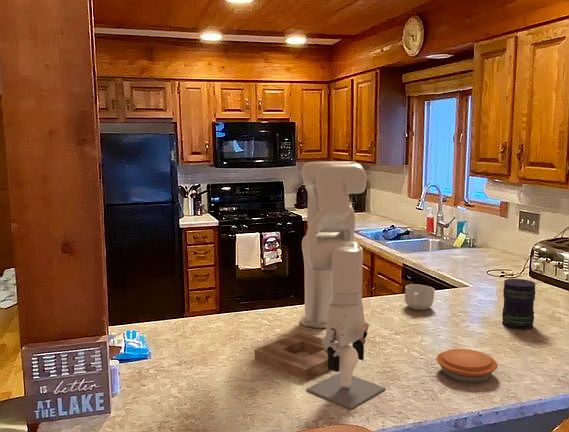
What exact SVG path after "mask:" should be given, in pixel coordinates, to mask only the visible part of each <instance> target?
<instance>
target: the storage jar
mask: <svg viewBox="0 0 569 432" xmlns="http://www.w3.org/2000/svg"><path fill="white" fill-rule="evenodd" d="M503 284H504V285H503V290H502V291H503V294H502V295H503V307H502V316H501V317H502V318H501V319H502V322H501V323H502V325H503V327H505V328H507V329H511V330H517V331H529V330H530V331H531V330H532V329H534V320H535V316H534V315H535V311H534V306H535V305H534V303H535V299H536V283H535V282H534V281H532V280H530V279H529V280H528V279H525V278H524V279H521V278H507V279H504V281H503Z"/></svg>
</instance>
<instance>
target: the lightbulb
mask: <svg viewBox="0 0 569 432" xmlns="http://www.w3.org/2000/svg"><path fill="white" fill-rule="evenodd" d="M338 356H339V357H340V361H339V372H338V373H340V378H341V385H342V386H343V387H344V388H348V387H350V386H351V378H352V376H353V375H354V374H353V373H354V370H355V368H356V366H357V364H358V361H359V359H358V353H357V351H356V350H355V349H354V348H353V347H352V345H350V344H348V345H345V346H343V347H341V349H340V351H339V353H338Z"/></svg>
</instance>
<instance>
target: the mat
mask: <svg viewBox="0 0 569 432" xmlns="http://www.w3.org/2000/svg"><path fill="white" fill-rule="evenodd" d="M385 390H386V387H384V386H381V385H378V384H376V383H375V382H372V381H368V380H365V379H363V378H360V377H357V376H355V375H352V378H351V386H350V387H348V388H344V387H343V386H342V385H341V378H340V373H339V372H337V373H336V374H333V375H332V376H330V377H327V378H326V379H323V380H321V381H319V382H318V383H316V384H313V385H311V386H309V387H307V388H306V391H307V392H309V393H311V394H314V395H316V396H318V397H320V398H323V399H325V400H328V401H329V402H332V403H334V404H337V405H339V406H340V407H344V408H345V409H349V410H353V409H354V408H355V409H356V408H357V407H358V406H360V405H363V403H365V402H367V401H368V400H371V399H372V398H374V397H375V396H377V395H379V394H381V393H383V392H384V391H385Z"/></svg>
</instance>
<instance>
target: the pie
mask: <svg viewBox="0 0 569 432" xmlns="http://www.w3.org/2000/svg"><path fill="white" fill-rule="evenodd" d="M436 362H437V364H438V365H439V366H440V368H441V369H442V371H443V373H444V374H445V375H446V376H447V377H448V378H450V379H453V380H455V381H458V382H463V383H472V384H473V383H481V382H485V381H486V380H487V379H489V377H491V375H492V374H493V372H495V371H496V370H497V369H498V366H499V365H498V363H497V361H496V360H495V359H494V358H493V357H491V356H489V355H488V354H485V353H484V352H481V351H477V350H473V349H467V348H454V349H453V348H451V349H449V350H445V351H442V352H440V353H439V354H437V356H436Z"/></svg>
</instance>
